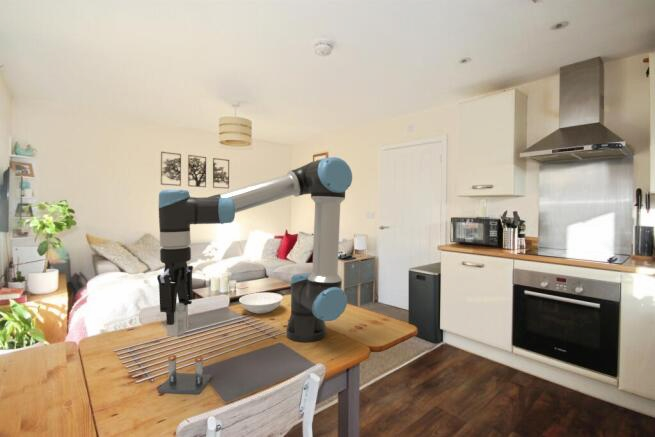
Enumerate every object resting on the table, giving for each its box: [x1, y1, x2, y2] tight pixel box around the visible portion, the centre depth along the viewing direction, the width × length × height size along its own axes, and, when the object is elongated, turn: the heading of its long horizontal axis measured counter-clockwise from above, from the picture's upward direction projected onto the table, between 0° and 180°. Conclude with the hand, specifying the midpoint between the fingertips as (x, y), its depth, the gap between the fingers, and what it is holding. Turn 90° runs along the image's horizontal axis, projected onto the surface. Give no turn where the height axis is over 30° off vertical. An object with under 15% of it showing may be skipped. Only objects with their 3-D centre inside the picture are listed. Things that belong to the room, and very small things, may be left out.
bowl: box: [238, 292, 284, 315], centre depth 148 cm, size 20×20×6 cm
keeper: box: [157, 354, 213, 395], centre depth 88 cm, size 11×8×8 cm
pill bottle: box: [176, 302, 187, 336], centre depth 88 cm, size 4×4×8 cm
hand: (178, 331), depth 89 cm, fingers closed on pill bottle, 4 cm apart
